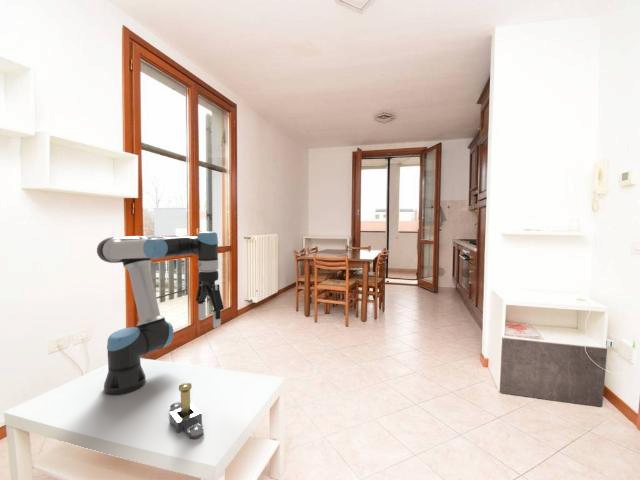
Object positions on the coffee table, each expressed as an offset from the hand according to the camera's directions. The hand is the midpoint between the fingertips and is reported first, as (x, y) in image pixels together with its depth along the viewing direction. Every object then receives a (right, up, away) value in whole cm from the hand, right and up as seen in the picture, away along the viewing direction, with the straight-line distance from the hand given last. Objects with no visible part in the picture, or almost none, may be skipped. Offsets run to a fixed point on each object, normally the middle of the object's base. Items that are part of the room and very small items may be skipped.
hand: (209, 322), depth 129 cm
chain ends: (-2, -30, -18) cm, 35 cm away
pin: (-2, -30, -18) cm, 35 cm away
